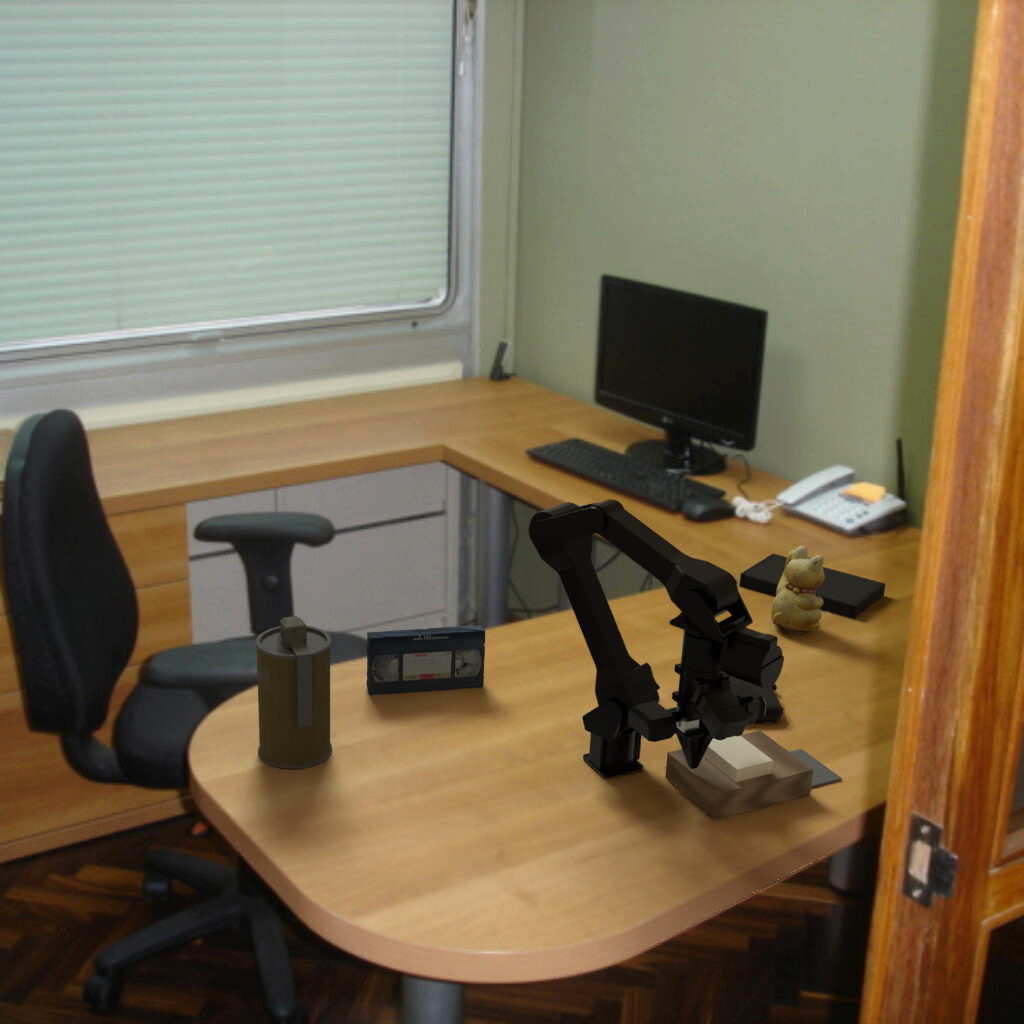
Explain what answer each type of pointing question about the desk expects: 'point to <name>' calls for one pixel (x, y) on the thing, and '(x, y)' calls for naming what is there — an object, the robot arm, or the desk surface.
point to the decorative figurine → (799, 593)
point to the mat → (816, 769)
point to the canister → (294, 694)
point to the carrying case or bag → (772, 703)
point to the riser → (739, 797)
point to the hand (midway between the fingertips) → (692, 767)
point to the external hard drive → (836, 591)
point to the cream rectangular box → (738, 758)
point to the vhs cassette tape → (425, 660)
